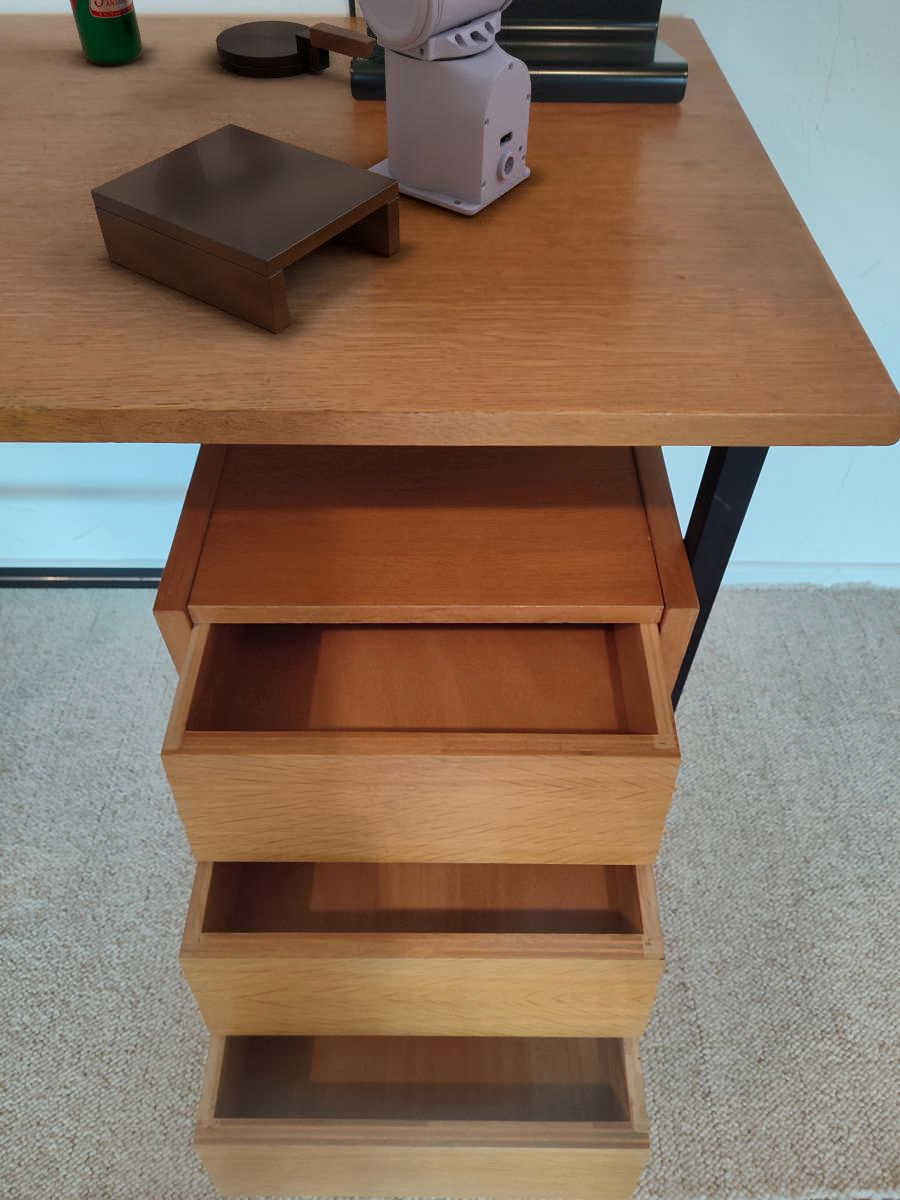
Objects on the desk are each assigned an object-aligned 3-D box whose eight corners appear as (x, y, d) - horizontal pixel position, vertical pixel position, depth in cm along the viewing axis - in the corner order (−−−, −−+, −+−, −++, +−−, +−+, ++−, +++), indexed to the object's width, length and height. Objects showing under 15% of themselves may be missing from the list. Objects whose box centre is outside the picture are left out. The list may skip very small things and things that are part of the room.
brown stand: (400, 249, 60) (398, 179, 56) (276, 334, 53) (266, 261, 50) (240, 189, 65) (229, 122, 62) (109, 260, 58) (89, 189, 55)
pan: (197, 62, 80) (188, 13, 78) (266, 33, 85) (261, -14, 83) (340, 106, 75) (337, 56, 72) (406, 73, 80) (405, 24, 77)
